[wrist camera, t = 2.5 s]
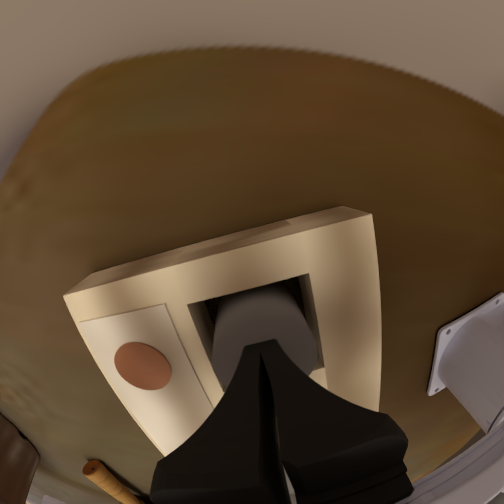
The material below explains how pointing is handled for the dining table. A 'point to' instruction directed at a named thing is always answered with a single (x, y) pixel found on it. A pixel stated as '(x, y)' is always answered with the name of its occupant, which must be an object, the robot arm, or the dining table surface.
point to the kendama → (109, 483)
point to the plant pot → (15, 464)
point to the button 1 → (260, 328)
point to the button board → (201, 327)
